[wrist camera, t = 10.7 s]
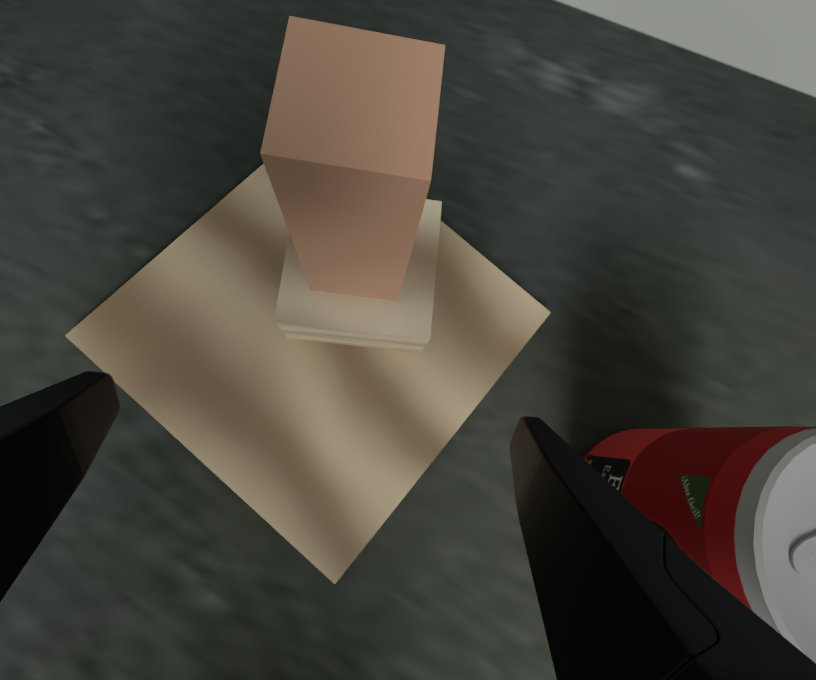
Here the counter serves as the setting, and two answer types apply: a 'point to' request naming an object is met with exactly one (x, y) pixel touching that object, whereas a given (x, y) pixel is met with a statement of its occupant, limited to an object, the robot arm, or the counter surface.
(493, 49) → the counter surface
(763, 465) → the canned food
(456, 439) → the counter surface
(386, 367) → the beige square cloth
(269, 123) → the post
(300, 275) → the slab top
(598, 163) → the counter surface
